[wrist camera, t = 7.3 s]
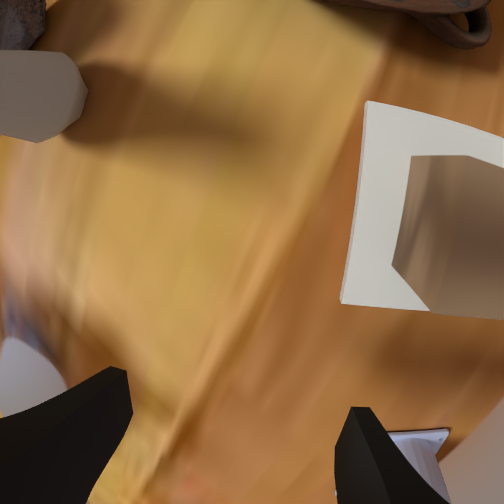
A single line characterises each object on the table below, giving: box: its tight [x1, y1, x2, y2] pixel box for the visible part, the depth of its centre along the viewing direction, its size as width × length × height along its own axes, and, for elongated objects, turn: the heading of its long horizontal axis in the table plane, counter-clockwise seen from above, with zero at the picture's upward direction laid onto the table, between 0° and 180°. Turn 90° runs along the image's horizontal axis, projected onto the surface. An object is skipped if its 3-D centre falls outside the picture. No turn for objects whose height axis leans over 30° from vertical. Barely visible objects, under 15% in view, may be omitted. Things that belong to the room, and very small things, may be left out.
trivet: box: [340, 101, 504, 311], centre depth 16 cm, size 11×11×1 cm
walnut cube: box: [391, 155, 504, 320], centre depth 12 cm, size 6×6×6 cm
